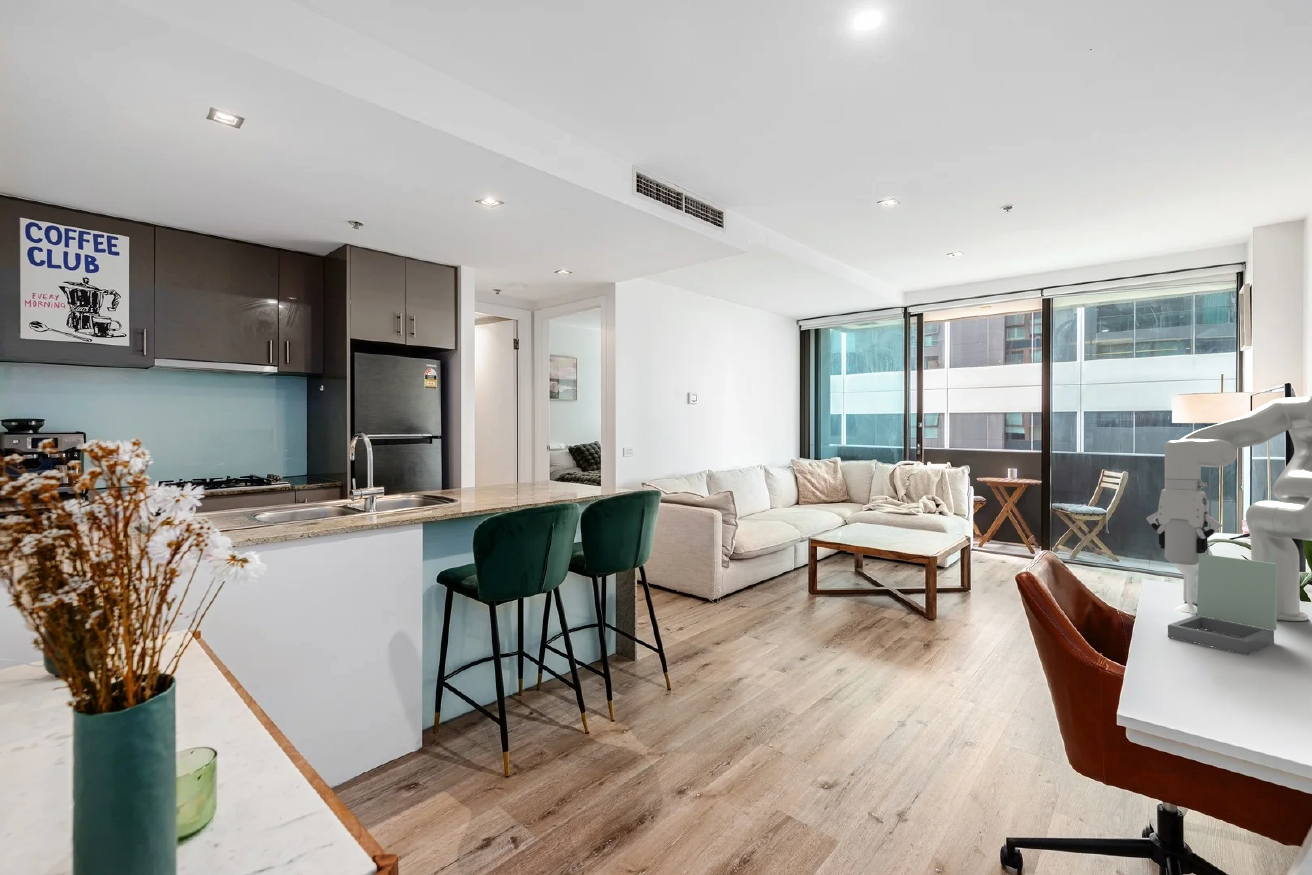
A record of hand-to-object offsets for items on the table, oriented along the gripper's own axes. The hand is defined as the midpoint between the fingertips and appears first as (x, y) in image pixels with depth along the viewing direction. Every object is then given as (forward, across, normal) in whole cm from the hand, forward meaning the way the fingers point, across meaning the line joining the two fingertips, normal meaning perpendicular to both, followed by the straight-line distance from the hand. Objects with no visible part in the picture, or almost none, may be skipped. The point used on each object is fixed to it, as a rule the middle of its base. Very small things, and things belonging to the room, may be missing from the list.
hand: (1182, 549), depth 169 cm
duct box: (+19, -12, +12) cm, 26 cm away
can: (+4, 0, 0) cm, 4 cm away
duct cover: (+8, -12, +3) cm, 15 cm away
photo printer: (+19, +3, -22) cm, 29 cm away
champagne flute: (+19, +3, -12) cm, 23 cm away
